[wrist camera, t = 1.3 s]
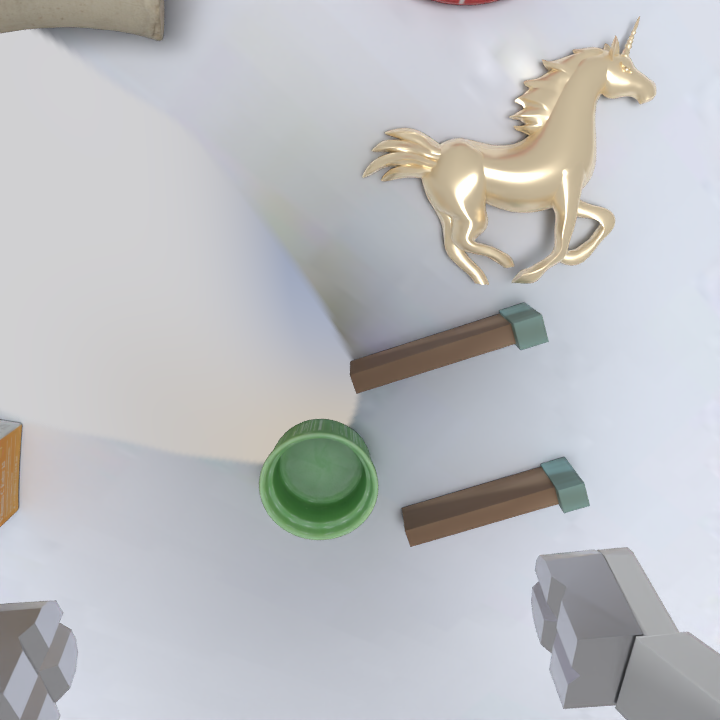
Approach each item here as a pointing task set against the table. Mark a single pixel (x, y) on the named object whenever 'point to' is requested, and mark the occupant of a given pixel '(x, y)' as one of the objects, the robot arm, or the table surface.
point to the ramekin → (319, 480)
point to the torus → (465, 2)
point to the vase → (85, 15)
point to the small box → (9, 468)
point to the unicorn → (523, 161)
